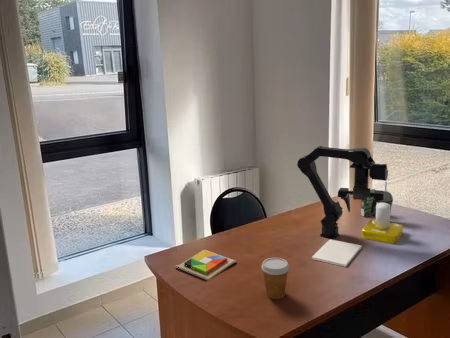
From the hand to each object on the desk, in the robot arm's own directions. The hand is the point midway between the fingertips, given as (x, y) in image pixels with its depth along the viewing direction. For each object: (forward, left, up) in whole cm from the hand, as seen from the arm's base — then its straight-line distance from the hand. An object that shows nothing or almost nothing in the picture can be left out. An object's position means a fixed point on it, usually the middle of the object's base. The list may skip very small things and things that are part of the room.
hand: (360, 212), depth 192 cm
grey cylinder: (+5, +12, -8) cm, 15 cm away
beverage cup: (-1, +27, -13) cm, 30 cm away
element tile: (+5, +12, -14) cm, 19 cm away
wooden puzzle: (-36, -59, -14) cm, 71 cm away
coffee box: (-11, +31, -13) cm, 35 cm away
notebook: (-1, -17, -13) cm, 21 cm away
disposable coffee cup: (-1, -59, -13) cm, 61 cm away
